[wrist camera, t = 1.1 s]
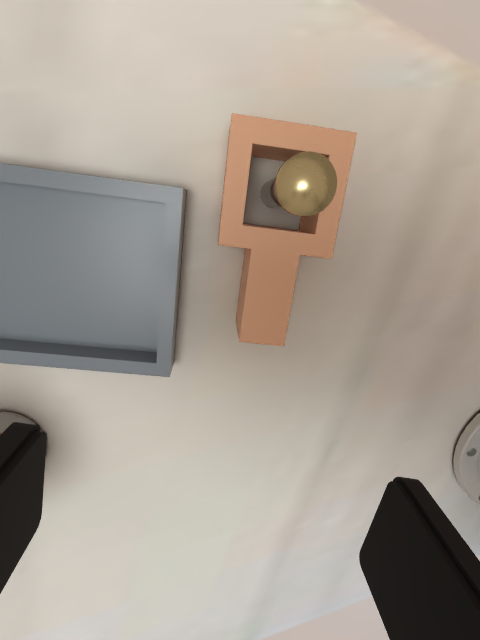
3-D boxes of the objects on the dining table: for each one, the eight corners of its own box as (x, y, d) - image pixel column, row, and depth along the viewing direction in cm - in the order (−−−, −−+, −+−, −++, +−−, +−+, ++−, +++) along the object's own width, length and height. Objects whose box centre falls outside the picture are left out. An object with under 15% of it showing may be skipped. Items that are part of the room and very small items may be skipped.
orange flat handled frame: (331, 146, 24) (356, 132, 19) (298, 327, 27) (313, 348, 23) (229, 131, 23) (231, 113, 19) (210, 318, 27) (208, 338, 23)
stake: (294, 176, 24) (342, 155, 15) (288, 215, 25) (330, 219, 16) (257, 171, 24) (282, 147, 15) (252, 210, 25) (273, 211, 15)
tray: (186, 190, 24) (183, 187, 22) (173, 362, 28) (169, 377, 25) (-97, 152, 22) (-134, 145, 20) (-69, 341, 26) (-98, 354, 24)
